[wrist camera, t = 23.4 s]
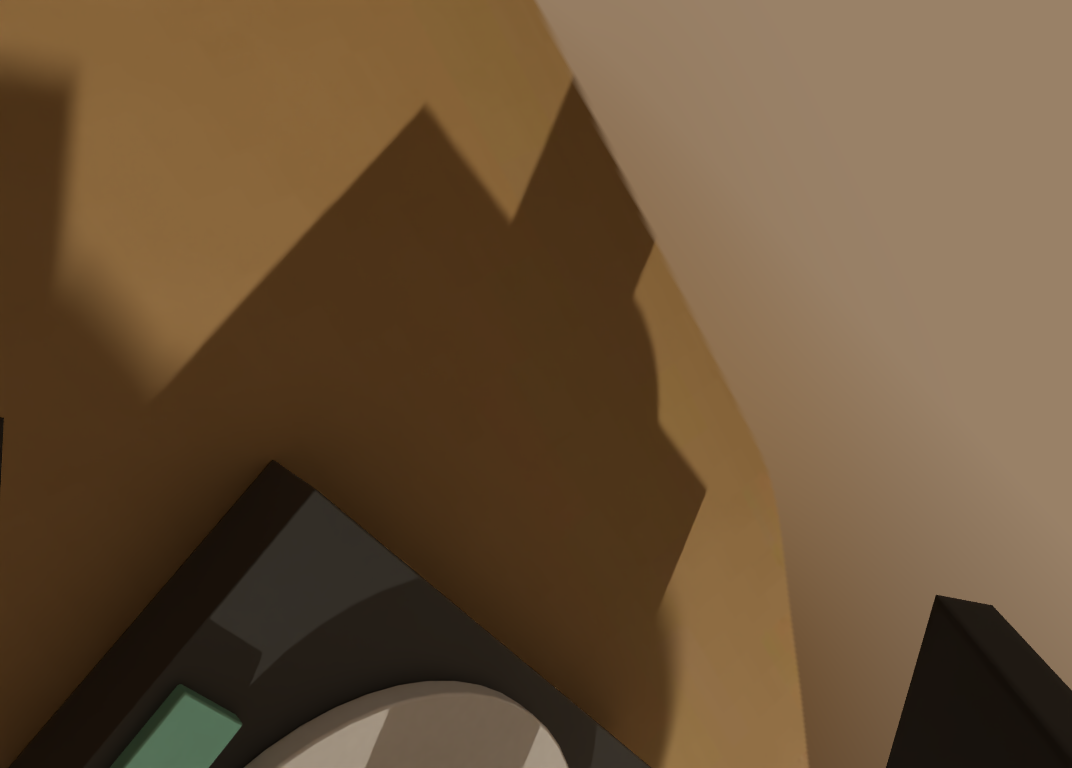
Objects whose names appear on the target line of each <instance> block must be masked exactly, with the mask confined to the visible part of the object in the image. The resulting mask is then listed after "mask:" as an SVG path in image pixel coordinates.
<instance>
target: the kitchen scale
mask: <svg viewBox="0 0 1072 768" xmlns="http://www.w3.org/2000/svg"><path fill="white" fill-rule="evenodd" d="M9 768H651V767H650V766H649V765H647V764H646V763H645V762H644V761H643V760H641V759H640V758H639V757H638V756H637V755H635V754H634V753H633V752H632V751H631V750H629V749H628V748H627V747H626V746H625V745H623V744H622V743H621V742H620V741H619V740H617V739H616V738H615V737H614V736H613V735H611V734H610V733H609V732H608V731H607V730H605V729H604V728H603V727H602V726H600V725H599V724H598V723H597V722H596V721H594V720H593V719H592V718H591V717H590V716H588V715H587V714H586V713H585V712H584V711H582V710H581V709H580V708H579V707H578V706H576V705H575V704H574V703H573V702H572V701H570V700H569V699H568V698H567V697H566V696H564V695H563V694H562V693H561V692H560V691H558V690H557V689H556V688H555V687H553V686H552V685H551V684H550V683H549V682H547V681H546V680H545V679H544V678H543V677H541V676H540V675H539V674H538V673H537V672H535V671H534V670H533V669H532V668H531V667H529V666H528V665H527V664H526V663H525V662H523V661H522V660H521V659H520V658H519V657H517V656H516V655H515V654H514V653H513V652H511V651H510V650H509V649H508V648H507V647H505V646H504V645H503V644H502V643H500V642H499V641H498V640H497V639H496V638H494V637H493V636H492V635H491V634H490V633H488V632H487V631H486V630H485V629H484V628H482V627H481V626H480V625H479V624H478V623H476V622H475V621H474V620H473V619H472V618H470V617H469V616H468V615H467V614H466V613H464V612H463V611H462V610H461V609H460V608H458V607H457V606H456V605H455V604H453V603H452V602H451V601H450V600H449V599H447V598H446V597H445V596H444V595H443V594H441V593H440V592H439V591H438V590H437V589H435V588H434V587H433V586H432V585H431V584H429V583H428V582H427V581H426V580H425V579H423V578H422V577H421V576H420V575H419V574H417V573H416V572H415V571H414V570H413V569H411V568H410V567H409V566H408V565H407V564H405V563H404V562H403V561H402V560H400V559H399V558H398V557H397V556H396V555H394V554H393V553H392V552H391V551H390V550H388V549H387V548H386V547H385V546H384V545H382V544H381V543H380V542H379V541H378V540H376V539H375V538H374V537H373V536H372V535H370V534H369V533H368V532H367V531H366V530H364V529H363V528H362V527H361V526H360V525H358V524H357V523H356V522H355V521H353V520H352V519H351V518H350V517H349V516H347V515H346V514H345V513H344V512H343V511H341V510H340V509H339V508H338V507H337V506H335V505H334V504H333V503H332V502H331V501H329V500H328V499H327V498H326V497H325V496H323V495H322V494H321V493H320V492H319V491H317V490H316V489H315V488H313V487H312V486H310V485H309V484H308V483H306V482H305V481H303V480H302V479H300V478H299V477H297V476H296V475H295V474H293V473H292V472H290V471H289V470H287V469H286V468H285V467H283V466H282V465H280V464H279V463H277V462H276V461H274V460H272V461H271V462H270V464H269V465H268V466H267V467H266V468H265V469H264V471H263V472H262V473H261V474H260V475H259V476H258V478H257V479H256V480H255V481H254V482H253V483H252V485H251V486H250V487H249V488H248V489H247V490H246V492H245V493H244V494H243V495H242V496H241V497H240V499H239V500H238V501H237V502H236V503H235V504H234V506H233V507H232V508H231V509H230V510H229V511H228V513H227V514H226V515H225V516H224V517H223V518H222V520H221V521H220V522H219V523H218V524H217V525H216V527H215V528H214V529H213V530H212V531H211V532H210V534H209V535H208V536H207V537H206V538H205V539H204V541H203V542H202V543H201V544H200V545H199V546H198V548H197V549H196V550H195V551H194V552H193V553H192V555H191V556H190V557H189V558H188V559H187V560H186V562H185V563H184V564H183V565H182V566H181V567H180V569H179V570H178V571H177V572H176V573H175V574H174V576H173V577H172V578H171V579H170V580H169V581H168V583H167V584H166V585H165V586H164V587H163V588H162V590H161V591H160V592H159V593H158V594H157V595H156V597H155V598H154V599H153V600H152V601H151V602H150V604H149V605H148V606H147V607H146V608H145V609H144V611H143V612H142V613H141V614H140V615H139V616H138V618H137V619H136V620H135V621H134V622H133V623H132V625H131V626H130V627H129V628H128V629H127V630H126V632H125V633H124V634H123V635H122V636H121V637H120V639H119V640H118V641H117V642H116V643H115V644H114V646H113V647H112V648H111V649H110V650H109V651H108V653H107V654H106V655H105V656H104V657H103V658H102V660H101V661H100V662H99V663H98V664H97V665H96V667H95V668H94V669H93V670H92V671H91V672H90V674H89V675H88V676H87V677H86V678H85V679H84V681H83V682H82V683H81V684H80V685H79V686H78V688H77V689H76V690H75V691H74V692H73V693H72V695H71V696H70V697H69V698H68V699H67V700H66V702H65V703H64V704H63V705H62V706H61V707H60V709H59V710H58V711H57V712H56V713H55V714H54V716H53V717H52V718H51V719H50V720H49V721H48V723H47V724H46V725H45V726H44V727H43V728H42V730H41V731H40V732H39V733H38V734H37V735H36V737H35V738H34V739H33V740H32V741H31V742H30V744H29V745H28V746H27V747H26V748H25V749H24V751H23V752H22V753H21V754H20V755H19V756H18V758H17V759H16V760H15V761H14V762H13V763H12V765H11V766H10V767H9Z"/></svg>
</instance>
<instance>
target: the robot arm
mask: <svg viewBox="0 0 1072 768" xmlns="http://www.w3.org/2000/svg"><path fill="white" fill-rule="evenodd" d="M3 424H4V418H2V417H0V485H1V464H2V444H3ZM886 768H1072V690H1071V689H1070V688H1069V687H1068V686H1067V685H1066V684H1065V683H1064V682H1063V681H1062V680H1061V679H1060V678H1059V677H1058V675H1057V674H1055V672H1054V671H1053V670H1052V669H1051V668H1050V667H1049V666H1048V665H1047V664H1046V663H1045V661H1044V660H1043V659H1042V658H1041V657H1040V656H1039V655H1038V654H1037V653H1036V652H1035V651H1034V650H1033V649H1032V648H1031V646H1030V645H1029V644H1028V643H1027V642H1026V641H1025V640H1024V639H1023V638H1022V637H1021V636H1020V635H1019V634H1018V633H1017V631H1016V630H1015V629H1014V628H1013V627H1012V626H1011V625H1010V624H1009V623H1008V622H1007V621H1006V620H1005V619H1004V617H1003V616H1002V615H1001V614H1000V613H999V612H998V611H997V610H996V609H995V608H994V607H993V606H992V605H987V604H981V603H977V602H971V601H966V600H961V599H956V598H950V597H945V596H939V595H936V597H935V600H934V604H933V607H932V610H931V614H930V618H929V621H928V624H927V628H926V631H925V635H924V638H923V642H922V645H921V649H920V652H919V655H918V659H917V662H916V666H915V669H914V673H913V677H912V680H911V683H910V687H909V690H908V693H907V697H906V700H905V704H904V708H903V711H902V714H901V718H900V721H899V725H898V728H897V731H896V735H895V738H894V742H893V745H892V749H891V752H890V756H889V759H888V763H887V766H886Z"/></svg>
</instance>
